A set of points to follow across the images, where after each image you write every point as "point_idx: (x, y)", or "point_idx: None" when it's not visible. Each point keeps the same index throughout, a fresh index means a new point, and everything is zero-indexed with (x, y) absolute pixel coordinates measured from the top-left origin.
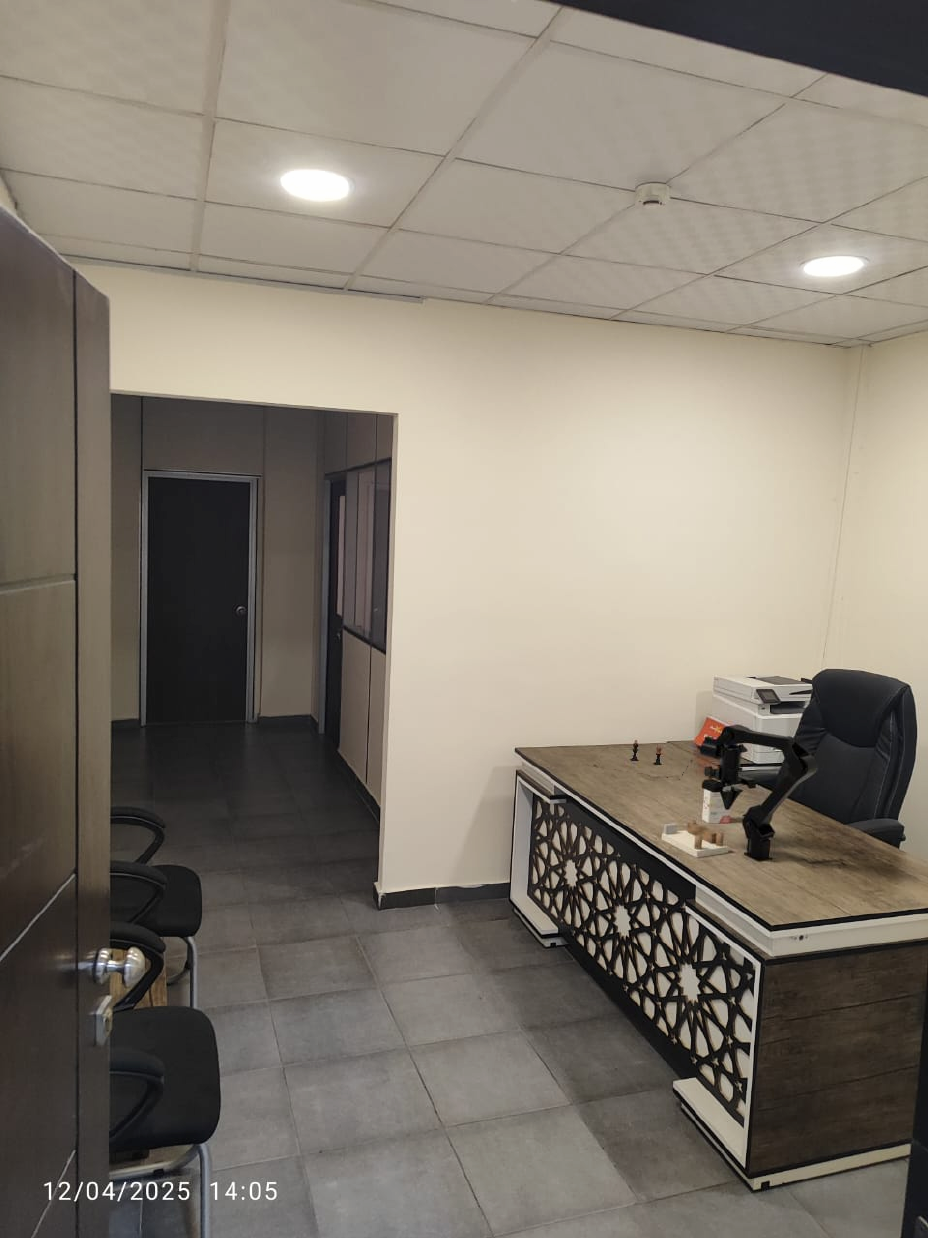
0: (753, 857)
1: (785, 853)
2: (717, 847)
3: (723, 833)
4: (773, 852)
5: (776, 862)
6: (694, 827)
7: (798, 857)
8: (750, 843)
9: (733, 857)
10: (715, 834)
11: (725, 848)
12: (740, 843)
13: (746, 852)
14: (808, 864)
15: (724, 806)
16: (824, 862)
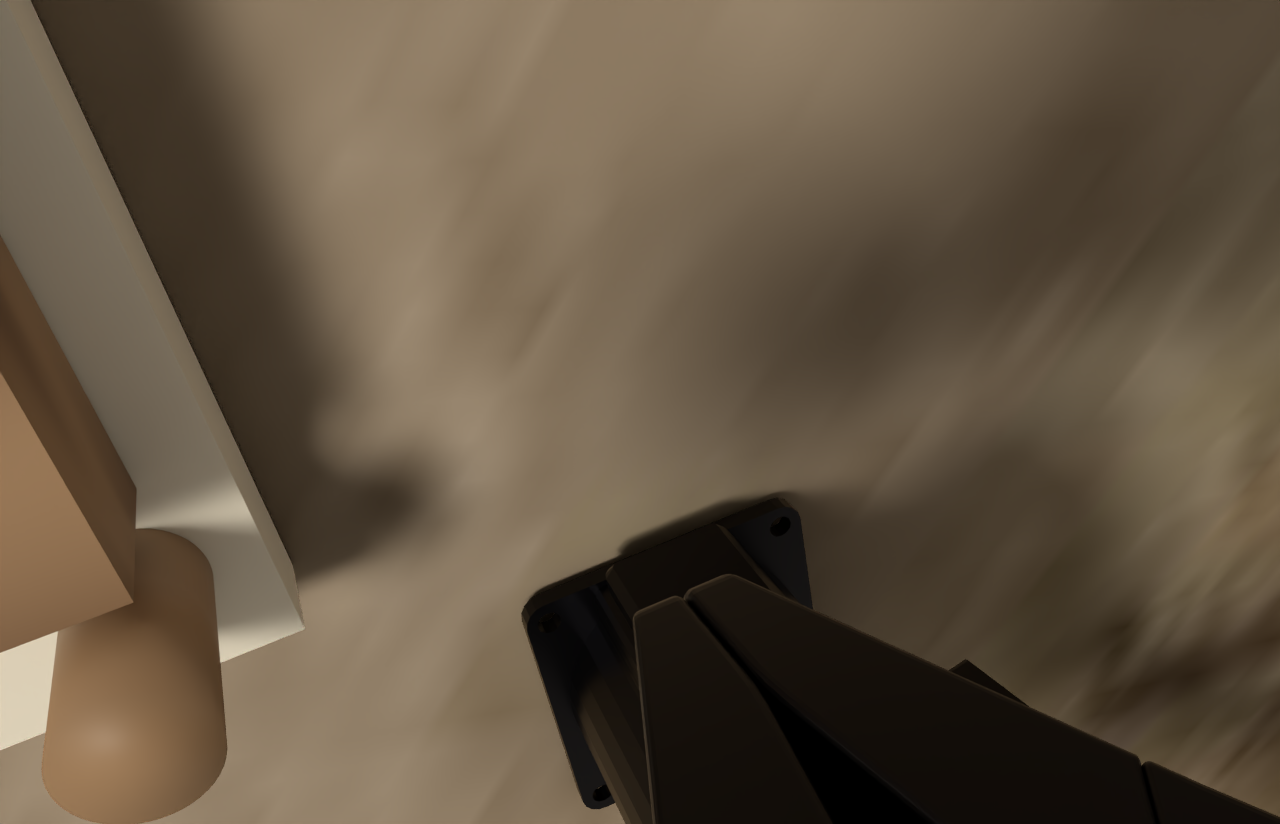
0: (569, 760)
1: (1079, 489)
2: (47, 700)
3: (217, 762)
4: (973, 472)
5: None
6: None
7: (1114, 587)
8: (633, 800)
9: (300, 720)
10: (58, 620)
11: (234, 641)
12: (757, 126)
13: (576, 606)
14: None
15: (642, 699)
16: (1226, 671)
